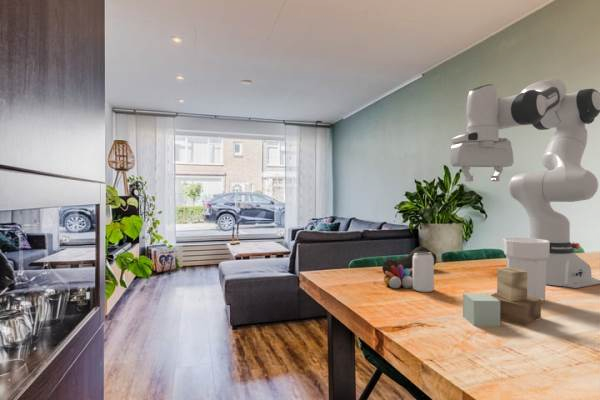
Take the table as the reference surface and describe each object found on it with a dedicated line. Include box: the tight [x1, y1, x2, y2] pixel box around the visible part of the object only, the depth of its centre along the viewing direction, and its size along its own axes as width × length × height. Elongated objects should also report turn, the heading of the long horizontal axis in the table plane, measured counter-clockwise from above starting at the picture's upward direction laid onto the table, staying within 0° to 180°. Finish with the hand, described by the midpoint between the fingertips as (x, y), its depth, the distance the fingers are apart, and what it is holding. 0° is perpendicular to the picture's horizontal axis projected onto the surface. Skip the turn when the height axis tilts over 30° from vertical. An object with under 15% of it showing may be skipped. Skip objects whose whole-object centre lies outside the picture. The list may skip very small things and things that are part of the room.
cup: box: [503, 237, 550, 304], centre depth 97 cm, size 11×11×17 cm
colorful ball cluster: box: [383, 265, 413, 289], centre depth 112 cm, size 8×10×7 cm
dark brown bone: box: [381, 246, 438, 275], centre depth 132 cm, size 11×10×28 cm
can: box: [412, 252, 435, 293], centre depth 107 cm, size 6×6×12 cm
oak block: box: [496, 267, 527, 301], centre depth 83 cm, size 4×4×7 cm
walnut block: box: [490, 292, 542, 327], centre depth 83 cm, size 9×9×5 cm
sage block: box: [462, 292, 501, 327], centre depth 80 cm, size 6×6×6 cm
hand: (482, 181), depth 104 cm, fingers open, 8 cm apart
